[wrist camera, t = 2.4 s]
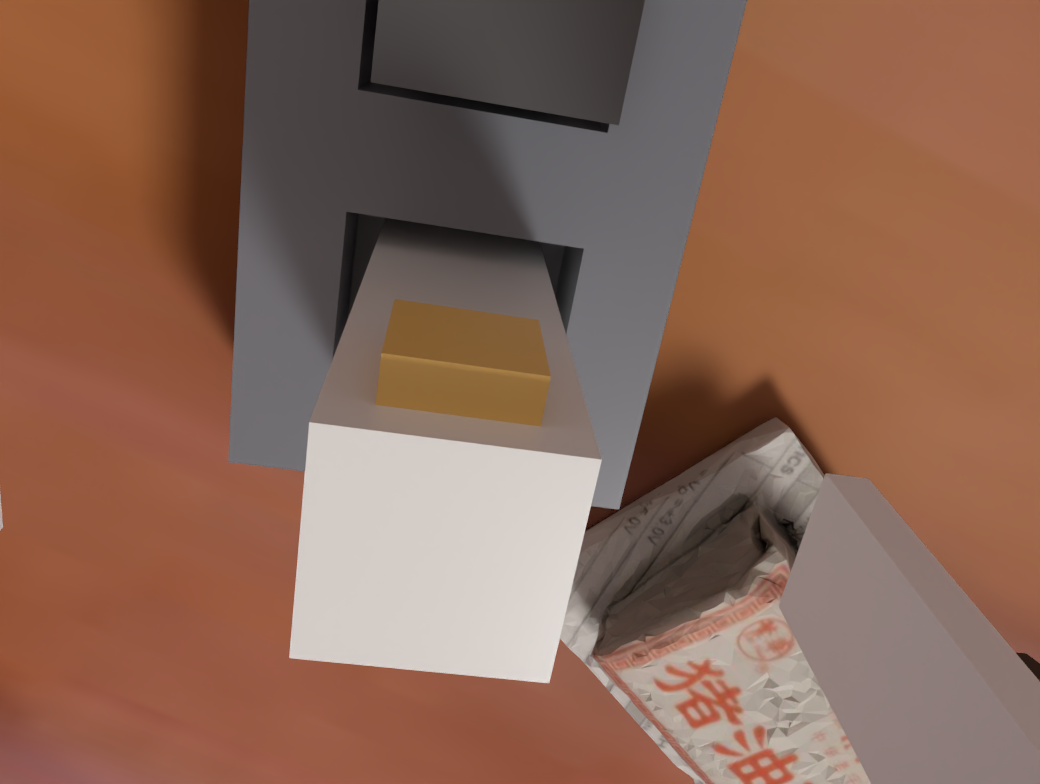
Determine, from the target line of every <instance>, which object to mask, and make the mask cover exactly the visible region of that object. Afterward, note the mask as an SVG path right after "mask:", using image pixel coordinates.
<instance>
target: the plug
mask: <svg viewBox="0 0 1040 784" xmlns="http://www.w3.org/2000/svg"><path fill="white" fill-rule="evenodd" d="M601 461H602V458H601V455H600V451H599V448H598V444H597V441H596V437H595V434H594V430H593V427H592V423H591V420H590V416H589V413H588V410H587V406H586V403H585V399H584V396H583V392H582V389H581V385H580V382H579V378H578V375H577V371H576V368H575V364H574V361H573V357H572V354H571V350H570V347H569V343H568V340H567V336H566V333H565V329H564V326H563V322H562V319H561V315H560V312H559V308H558V305H557V302H556V298H555V295H554V291H553V288H552V284H551V281H550V277H549V274H548V270H547V267H546V263H545V260H544V256H543V253H542V249H541V246H540V242H538V241H531V240H525V239H519V238H512V237H506V236H499V235H493V234H487V233H480V232H474V231H467V230H461V229H455V228H448V227H442V226H435V225H429V224H423V223H416V222H410V221H403V220H397V219H391V218H385V221H384V224H383V226H382V229H381V232H380V234H379V237H378V240H377V242H376V245H375V248H374V250H373V253H372V256H371V258H370V261H369V264H368V266H367V269H366V272H365V274H364V277H363V280H362V282H361V285H360V288H359V290H358V293H357V296H356V298H355V301H354V304H353V306H352V309H351V312H350V314H349V317H348V320H347V323H346V325H345V328H344V331H343V333H342V336H341V339H340V341H339V344H338V347H337V349H336V352H335V355H334V357H333V360H332V363H331V365H330V368H329V371H328V373H327V376H326V379H325V381H324V384H323V387H322V389H321V392H320V395H319V397H318V400H317V403H316V405H315V408H314V411H313V413H312V416H311V419H310V421H309V431H308V443H307V454H306V466H305V478H304V490H303V502H302V513H301V525H300V537H299V549H298V561H297V573H296V584H295V596H294V608H293V620H292V632H291V643H290V655H289V658H295V659H305V660H315V661H325V662H336V663H346V664H356V665H367V666H377V667H387V668H398V669H408V670H418V671H429V672H439V673H449V674H460V675H470V676H480V677H491V678H501V679H511V680H521V681H532V682H542V683H549V682H550V677H551V673H552V669H553V665H554V660H555V656H556V652H557V648H558V643H559V639H560V635H561V631H562V627H563V622H564V618H565V614H566V610H567V605H568V601H569V597H570V593H571V588H572V584H573V580H574V576H575V571H576V567H577V563H578V559H579V555H580V550H581V546H582V542H583V538H584V533H585V529H586V525H587V521H588V516H589V512H590V508H591V504H592V499H593V495H594V491H595V487H596V483H597V478H598V474H599V470H600V466H601Z"/></svg>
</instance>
